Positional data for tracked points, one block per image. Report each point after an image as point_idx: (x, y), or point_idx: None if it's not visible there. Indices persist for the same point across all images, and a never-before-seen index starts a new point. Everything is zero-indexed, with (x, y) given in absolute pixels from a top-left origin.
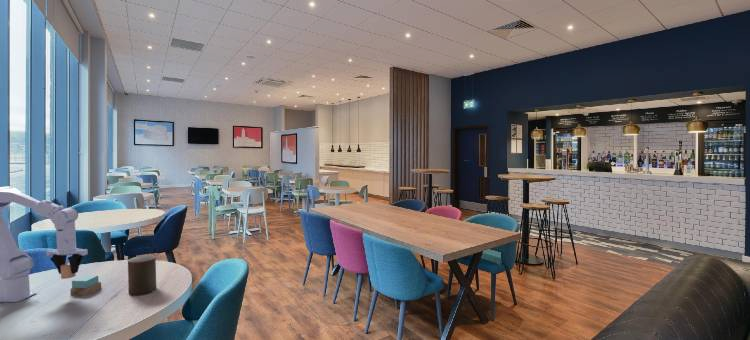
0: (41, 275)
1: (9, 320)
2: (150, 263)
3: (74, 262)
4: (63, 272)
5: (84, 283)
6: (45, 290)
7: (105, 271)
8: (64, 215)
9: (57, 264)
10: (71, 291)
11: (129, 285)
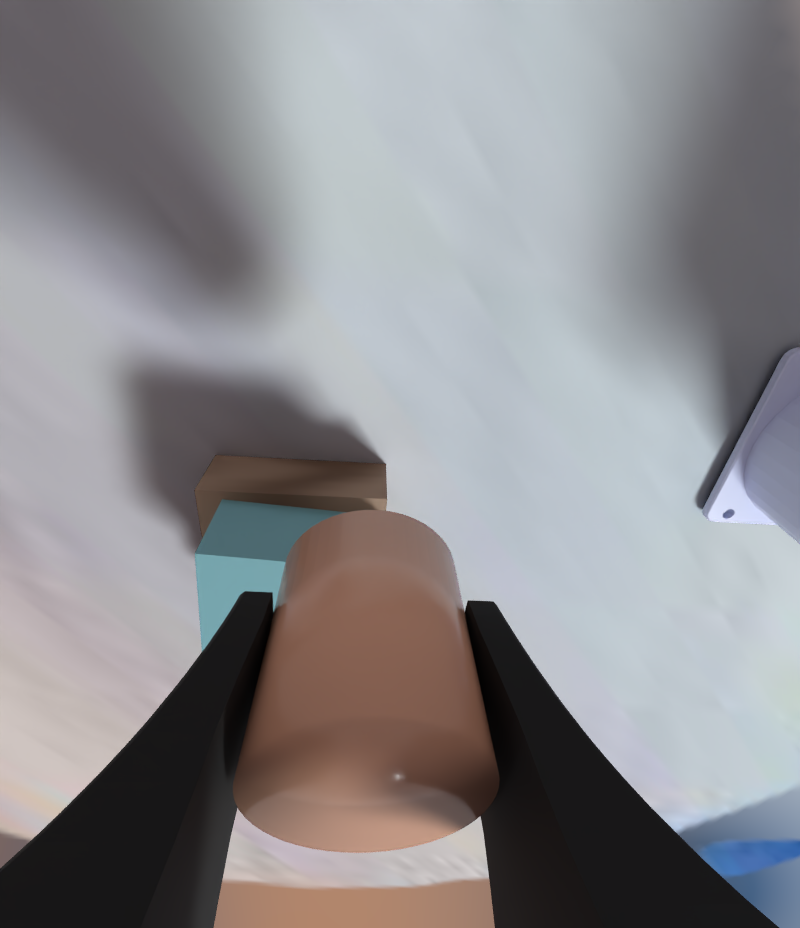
0: (792, 755)
1: None
2: None
3: (38, 842)
4: (375, 587)
5: (228, 536)
6: (659, 564)
7: None
8: None
9: (551, 775)
10: (375, 482)
11: None
